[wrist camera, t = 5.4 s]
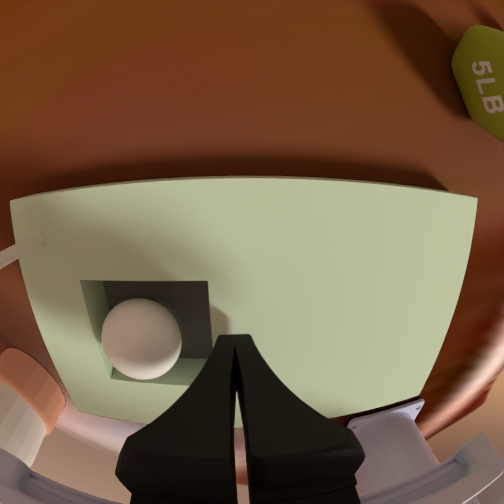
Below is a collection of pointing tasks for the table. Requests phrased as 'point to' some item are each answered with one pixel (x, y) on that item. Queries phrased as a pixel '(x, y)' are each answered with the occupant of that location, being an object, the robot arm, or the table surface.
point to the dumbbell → (482, 76)
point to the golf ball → (141, 338)
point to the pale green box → (248, 282)
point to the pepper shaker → (26, 404)
